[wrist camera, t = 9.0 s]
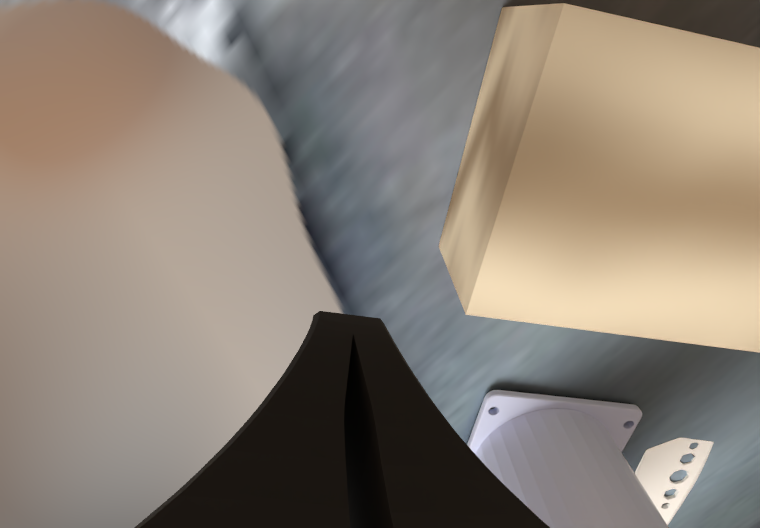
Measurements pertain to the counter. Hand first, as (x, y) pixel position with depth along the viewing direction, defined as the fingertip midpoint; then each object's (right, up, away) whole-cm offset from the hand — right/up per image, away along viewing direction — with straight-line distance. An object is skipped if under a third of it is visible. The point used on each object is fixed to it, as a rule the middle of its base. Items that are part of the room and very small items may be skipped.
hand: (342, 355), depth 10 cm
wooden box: (+11, +5, +9) cm, 15 cm away
